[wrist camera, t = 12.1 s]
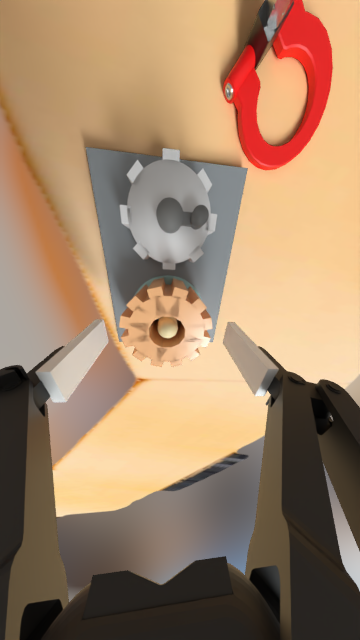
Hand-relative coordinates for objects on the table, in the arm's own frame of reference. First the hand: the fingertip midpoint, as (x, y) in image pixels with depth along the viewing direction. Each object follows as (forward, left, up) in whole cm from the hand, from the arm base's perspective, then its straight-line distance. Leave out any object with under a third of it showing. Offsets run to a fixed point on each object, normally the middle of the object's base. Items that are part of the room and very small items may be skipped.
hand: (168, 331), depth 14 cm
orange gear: (0, 0, -6) cm, 6 cm away
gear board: (-5, 0, -7) cm, 9 cm away
